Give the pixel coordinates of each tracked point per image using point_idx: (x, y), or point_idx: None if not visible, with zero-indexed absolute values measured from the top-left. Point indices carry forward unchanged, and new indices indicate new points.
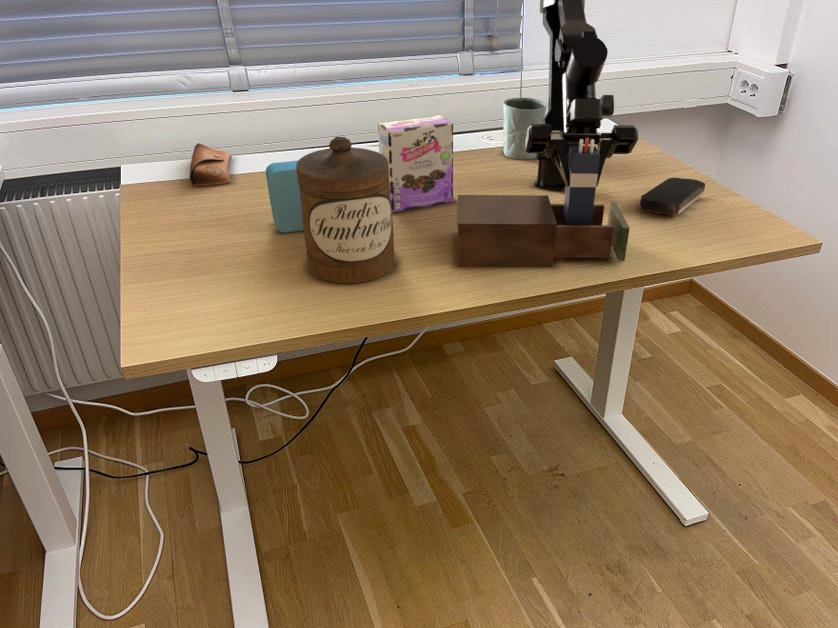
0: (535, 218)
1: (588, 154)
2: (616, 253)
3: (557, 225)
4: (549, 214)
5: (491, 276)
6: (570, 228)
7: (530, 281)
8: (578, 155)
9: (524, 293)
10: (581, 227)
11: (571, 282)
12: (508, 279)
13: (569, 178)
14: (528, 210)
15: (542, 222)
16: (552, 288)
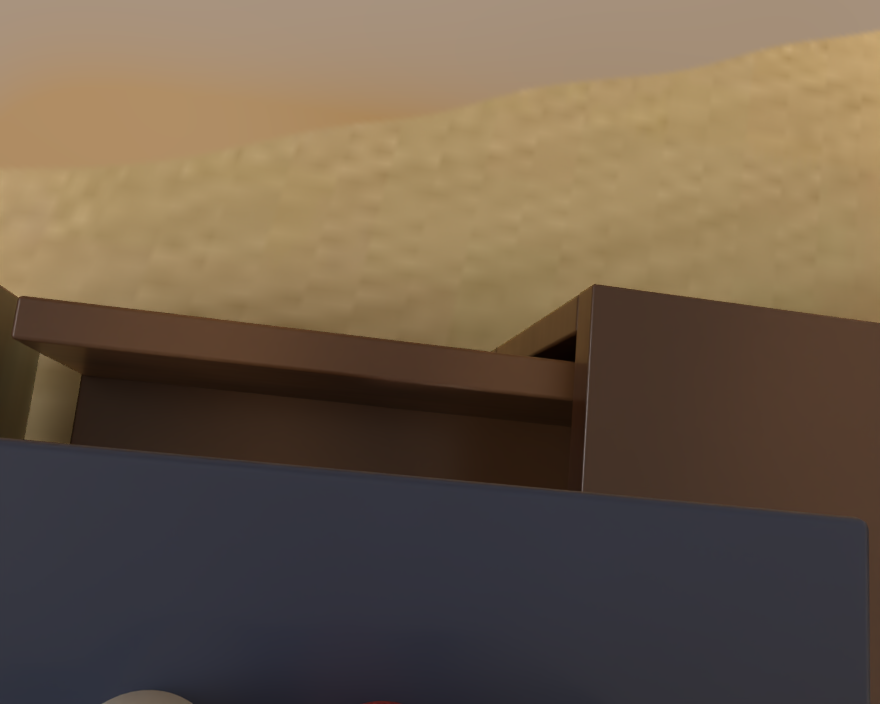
0: (756, 425)
1: (333, 506)
2: (26, 380)
3: (543, 390)
4: None
5: (836, 286)
6: (434, 346)
7: (643, 203)
8: (694, 506)
9: (689, 87)
10: (338, 334)
11: (419, 158)
12: (753, 241)
13: None
14: None
15: (708, 333)
16: (539, 112)
